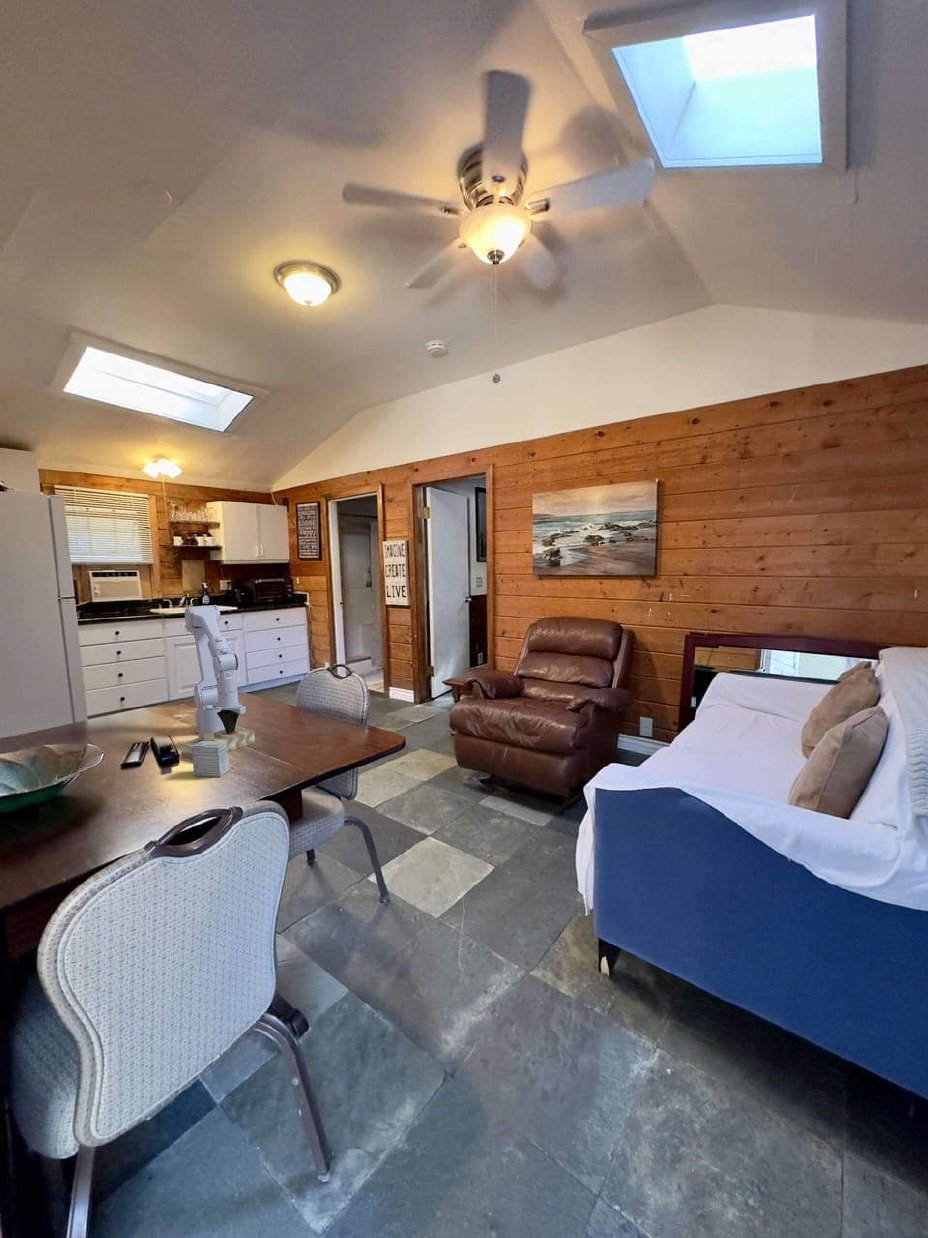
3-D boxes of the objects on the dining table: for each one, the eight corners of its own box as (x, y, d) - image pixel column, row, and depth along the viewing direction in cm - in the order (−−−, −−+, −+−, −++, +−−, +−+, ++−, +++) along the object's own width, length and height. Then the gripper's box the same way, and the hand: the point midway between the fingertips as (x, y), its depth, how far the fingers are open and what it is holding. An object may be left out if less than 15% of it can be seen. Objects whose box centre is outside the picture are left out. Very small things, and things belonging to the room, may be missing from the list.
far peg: (229, 746, 152) (228, 734, 152) (224, 744, 154) (223, 732, 153) (238, 743, 155) (237, 731, 154) (232, 741, 156) (231, 729, 156)
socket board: (201, 762, 140) (200, 749, 140) (181, 756, 145) (180, 743, 145) (254, 742, 156) (254, 730, 155) (235, 737, 161) (234, 725, 160)
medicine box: (230, 770, 135) (227, 741, 134) (220, 777, 130) (218, 747, 129) (203, 769, 135) (201, 740, 134) (193, 776, 131) (191, 746, 130)
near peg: (204, 746, 145) (203, 733, 144) (199, 744, 146) (198, 732, 146) (214, 743, 147) (213, 730, 147) (208, 741, 149) (207, 729, 148)
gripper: (201, 691, 152) (205, 732, 154) (229, 697, 145) (233, 740, 147) (222, 686, 158) (225, 725, 160) (250, 691, 151) (253, 732, 153)
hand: (230, 732), depth 154 cm, fingers closed, pressing on far peg
